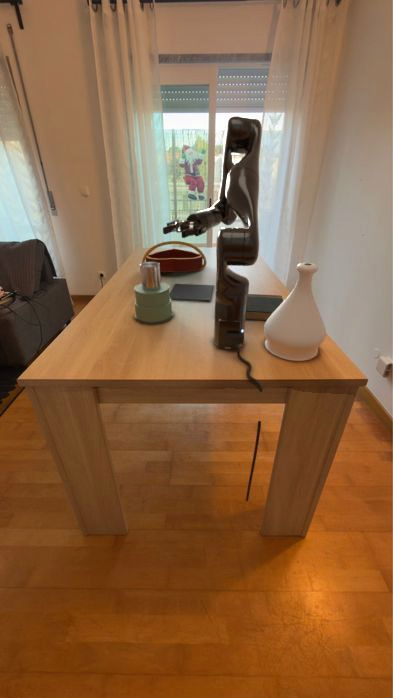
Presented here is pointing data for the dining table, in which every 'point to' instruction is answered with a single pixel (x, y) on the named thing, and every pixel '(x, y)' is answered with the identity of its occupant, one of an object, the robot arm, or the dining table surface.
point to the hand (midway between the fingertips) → (172, 233)
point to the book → (262, 306)
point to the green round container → (153, 305)
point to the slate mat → (191, 292)
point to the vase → (296, 321)
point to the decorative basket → (176, 258)
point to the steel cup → (150, 276)
